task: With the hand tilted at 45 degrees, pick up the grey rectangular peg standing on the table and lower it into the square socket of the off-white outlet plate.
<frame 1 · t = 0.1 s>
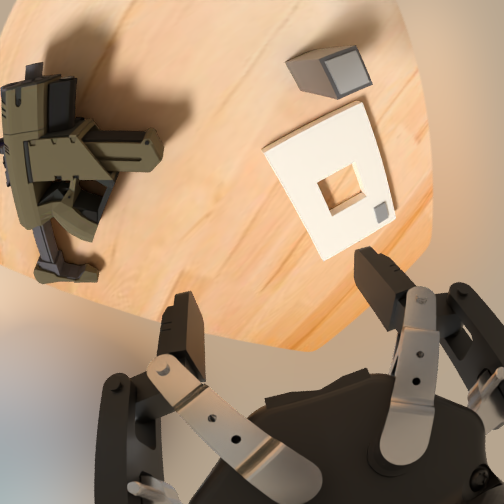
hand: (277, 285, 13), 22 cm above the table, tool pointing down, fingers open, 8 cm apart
outlet plate: (338, 185, 35), on the table
grey rectangular peg: (307, 69, 25), on the table
futuristic firearm: (72, 179, 28), on the table
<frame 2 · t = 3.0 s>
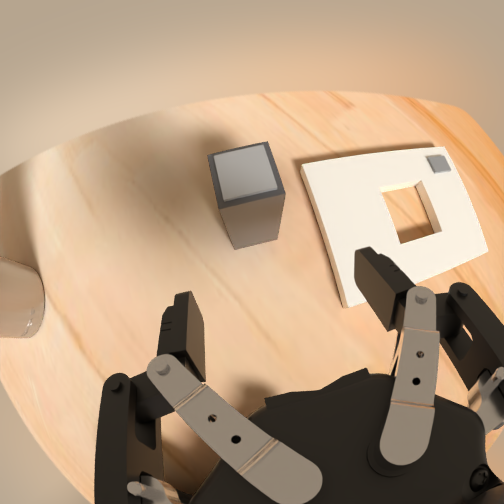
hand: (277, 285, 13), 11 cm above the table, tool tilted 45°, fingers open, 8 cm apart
outlet plate: (406, 214, 25), on the table
grey rectangular peg: (250, 224, 25), on the table
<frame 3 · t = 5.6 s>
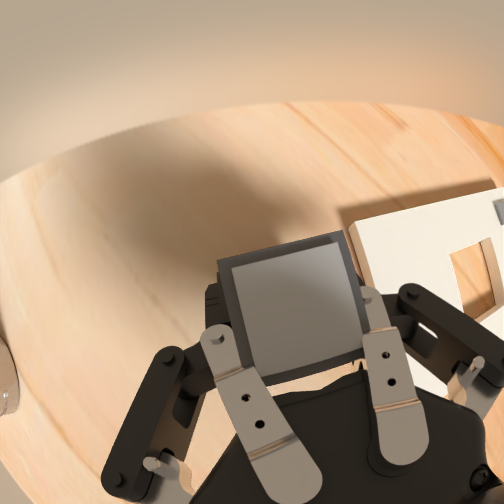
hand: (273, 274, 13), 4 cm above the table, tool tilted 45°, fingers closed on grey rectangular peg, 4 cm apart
outlet plate: (470, 283, 17), on the table
grey rectangular peg: (278, 314, 17), on the table, touching gripper
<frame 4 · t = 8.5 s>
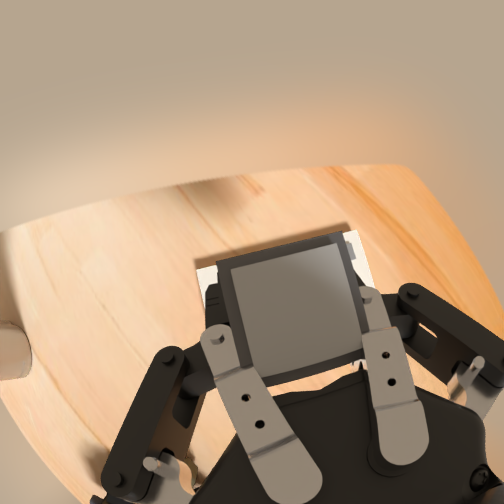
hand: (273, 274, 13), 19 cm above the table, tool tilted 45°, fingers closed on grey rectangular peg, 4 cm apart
outlet plate: (294, 308, 31), on the table
grey rectangular peg: (278, 314, 17), point 15 cm above the table, touching gripper
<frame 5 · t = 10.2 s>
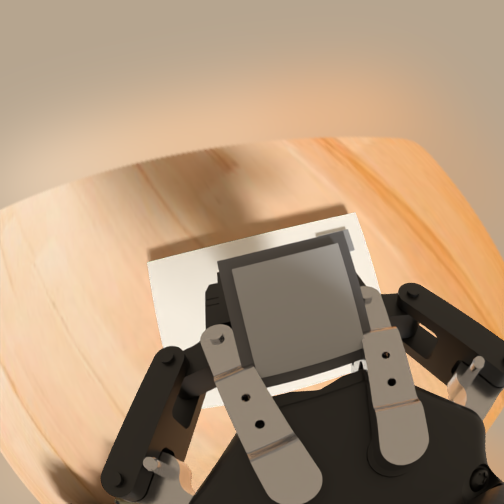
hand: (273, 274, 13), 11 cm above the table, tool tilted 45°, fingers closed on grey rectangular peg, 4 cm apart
outlet plate: (271, 314, 24), on the table
grey rectangular peg: (279, 314, 17), point 7 cm above the table, touching gripper
when the fingers open (5 cm above the table, at t = 11.6 s): grey rectangular peg drops 1 cm, resting in outlet plate.
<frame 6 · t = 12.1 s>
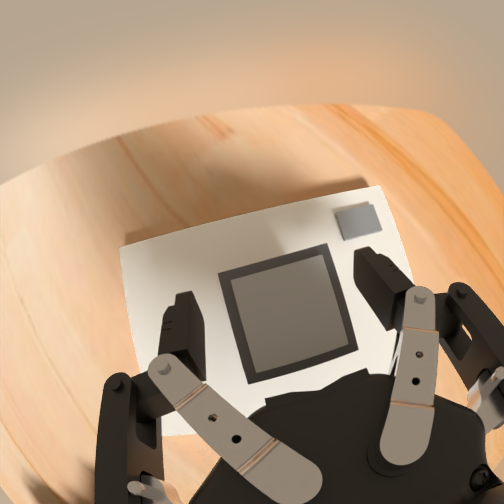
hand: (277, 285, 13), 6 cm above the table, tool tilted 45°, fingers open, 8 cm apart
outlet plate: (277, 314, 18), on the table
grey rectangular peg: (275, 315, 18), resting in outlet plate
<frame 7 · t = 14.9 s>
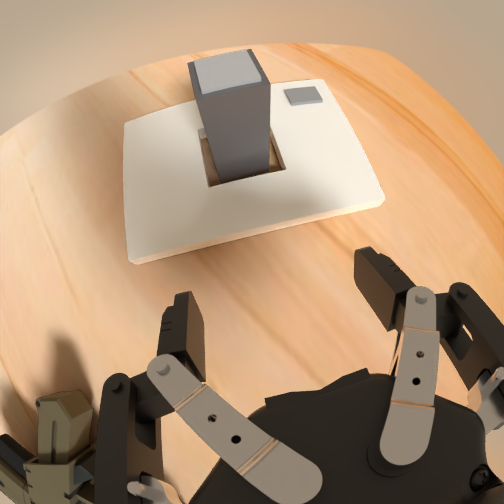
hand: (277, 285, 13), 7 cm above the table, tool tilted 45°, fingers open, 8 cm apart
outlet plate: (240, 157, 22), on the table
grey rectangular peg: (239, 158, 22), resting in outlet plate
futuristic firearm: (126, 502, 15), on the table
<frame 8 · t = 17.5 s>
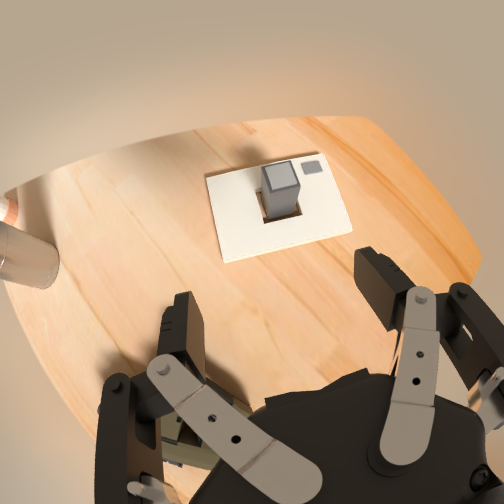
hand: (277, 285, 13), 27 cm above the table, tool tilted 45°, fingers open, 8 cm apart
pepper shaker: (10, 216, 45), on the table
outlet plate: (277, 205, 42), on the table
grey rectangular peg: (277, 205, 42), resting in outlet plate
futuristic firearm: (207, 417, 35), on the table
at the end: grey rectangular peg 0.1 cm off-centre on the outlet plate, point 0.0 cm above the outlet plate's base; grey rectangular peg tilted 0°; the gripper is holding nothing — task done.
